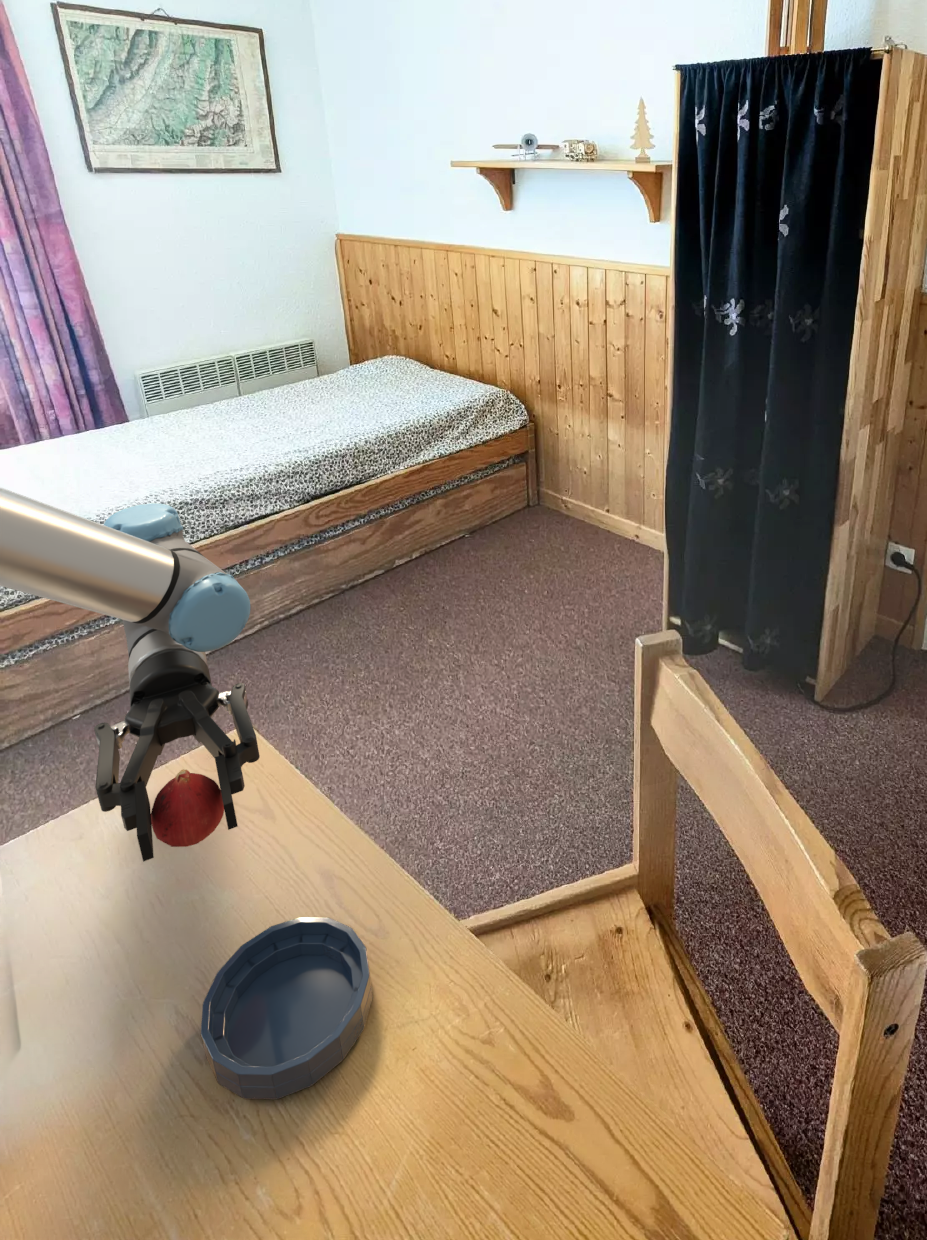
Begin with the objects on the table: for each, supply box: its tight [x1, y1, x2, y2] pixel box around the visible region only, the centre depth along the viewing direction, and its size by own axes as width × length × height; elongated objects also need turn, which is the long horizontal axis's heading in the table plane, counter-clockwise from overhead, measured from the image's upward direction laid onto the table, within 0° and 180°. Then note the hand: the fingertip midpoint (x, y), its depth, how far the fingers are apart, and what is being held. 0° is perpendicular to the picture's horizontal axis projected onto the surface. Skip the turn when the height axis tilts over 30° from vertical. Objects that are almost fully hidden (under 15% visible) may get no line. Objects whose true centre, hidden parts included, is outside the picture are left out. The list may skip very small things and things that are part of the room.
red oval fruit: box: [150, 768, 225, 848], centre depth 70 cm, size 6×6×8 cm
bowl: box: [200, 916, 374, 1100], centre depth 67 cm, size 13×13×4 cm
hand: (189, 830), depth 65 cm, fingers closed on red oval fruit, 6 cm apart
